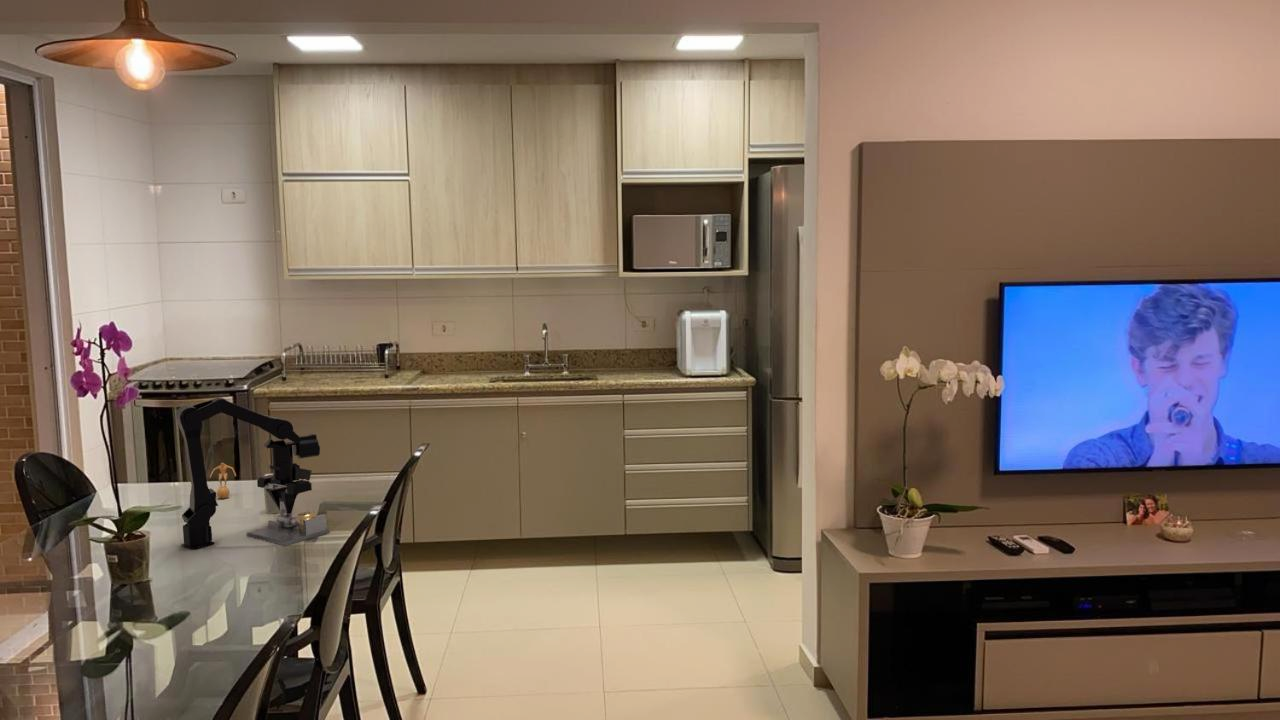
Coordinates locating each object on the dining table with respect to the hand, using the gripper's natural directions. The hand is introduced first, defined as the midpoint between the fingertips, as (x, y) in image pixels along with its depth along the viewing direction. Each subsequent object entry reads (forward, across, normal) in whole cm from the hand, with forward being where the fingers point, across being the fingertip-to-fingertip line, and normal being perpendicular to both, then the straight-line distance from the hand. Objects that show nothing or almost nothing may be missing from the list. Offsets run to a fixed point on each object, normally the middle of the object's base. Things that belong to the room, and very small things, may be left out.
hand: (285, 512), depth 278 cm
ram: (+4, -1, 0) cm, 4 cm away
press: (+5, -5, +3) cm, 8 cm away
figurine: (+5, +53, -12) cm, 54 cm away
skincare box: (+5, +21, -11) cm, 24 cm away
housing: (+4, -10, 0) cm, 11 cm away
